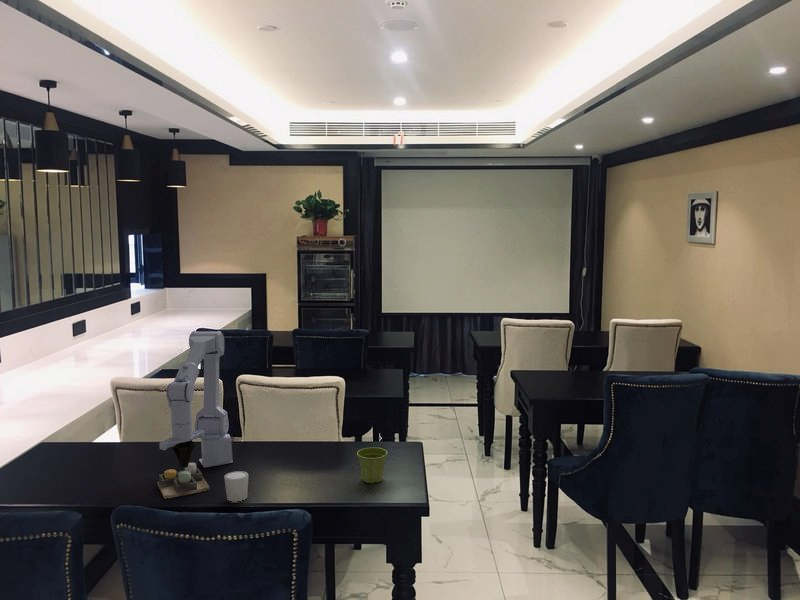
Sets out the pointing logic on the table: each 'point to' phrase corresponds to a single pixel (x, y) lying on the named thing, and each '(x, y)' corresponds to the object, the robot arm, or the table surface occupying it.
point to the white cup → (236, 485)
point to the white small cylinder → (191, 468)
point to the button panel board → (174, 489)
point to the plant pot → (372, 463)
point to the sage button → (184, 477)
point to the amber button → (170, 474)
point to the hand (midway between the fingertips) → (184, 466)
